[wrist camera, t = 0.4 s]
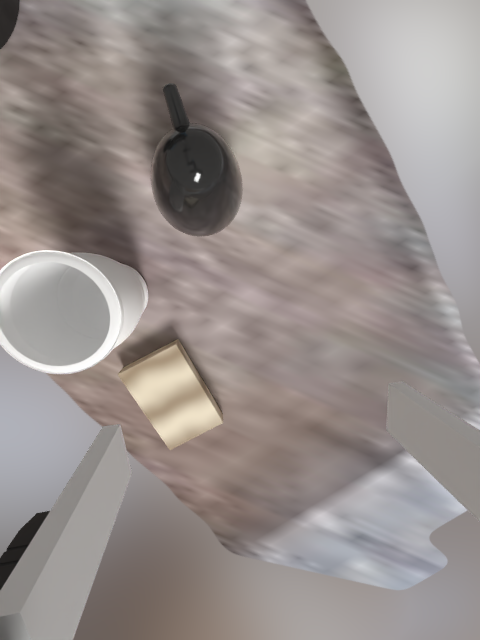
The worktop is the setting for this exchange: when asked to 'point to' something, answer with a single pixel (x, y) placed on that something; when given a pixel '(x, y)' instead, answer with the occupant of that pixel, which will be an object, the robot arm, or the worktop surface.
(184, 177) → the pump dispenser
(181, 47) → the worktop surface
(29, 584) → the robot arm
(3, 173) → the worktop surface
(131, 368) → the birch trivet
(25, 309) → the white cup
